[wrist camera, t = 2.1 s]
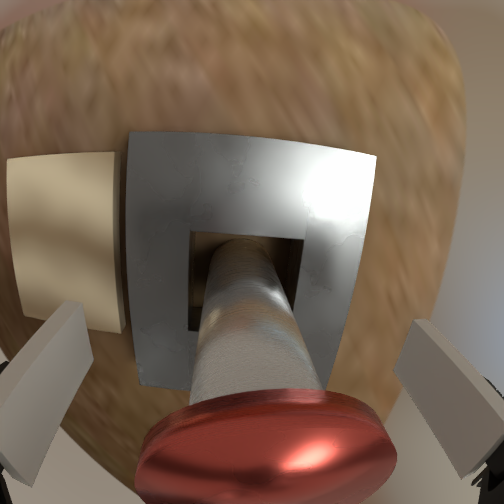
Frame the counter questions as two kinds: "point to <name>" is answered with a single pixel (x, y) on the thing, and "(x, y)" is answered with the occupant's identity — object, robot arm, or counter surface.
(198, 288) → the counter surface
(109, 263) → the birch pad
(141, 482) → the red mushroom button
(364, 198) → the eye plate
